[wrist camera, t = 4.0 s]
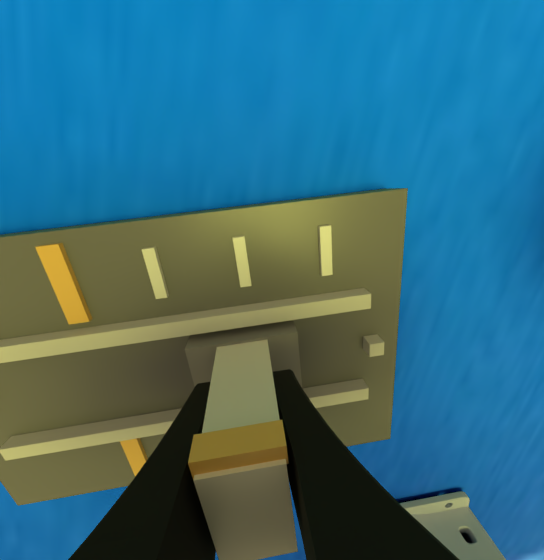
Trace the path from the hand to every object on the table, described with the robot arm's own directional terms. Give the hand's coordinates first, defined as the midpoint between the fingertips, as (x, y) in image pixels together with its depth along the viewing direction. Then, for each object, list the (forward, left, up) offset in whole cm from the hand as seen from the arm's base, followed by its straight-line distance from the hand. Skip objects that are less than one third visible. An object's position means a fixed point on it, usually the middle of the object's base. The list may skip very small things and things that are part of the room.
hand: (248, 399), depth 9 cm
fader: (0, 0, -2) cm, 2 cm away
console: (+3, 0, -4) cm, 4 cm away
